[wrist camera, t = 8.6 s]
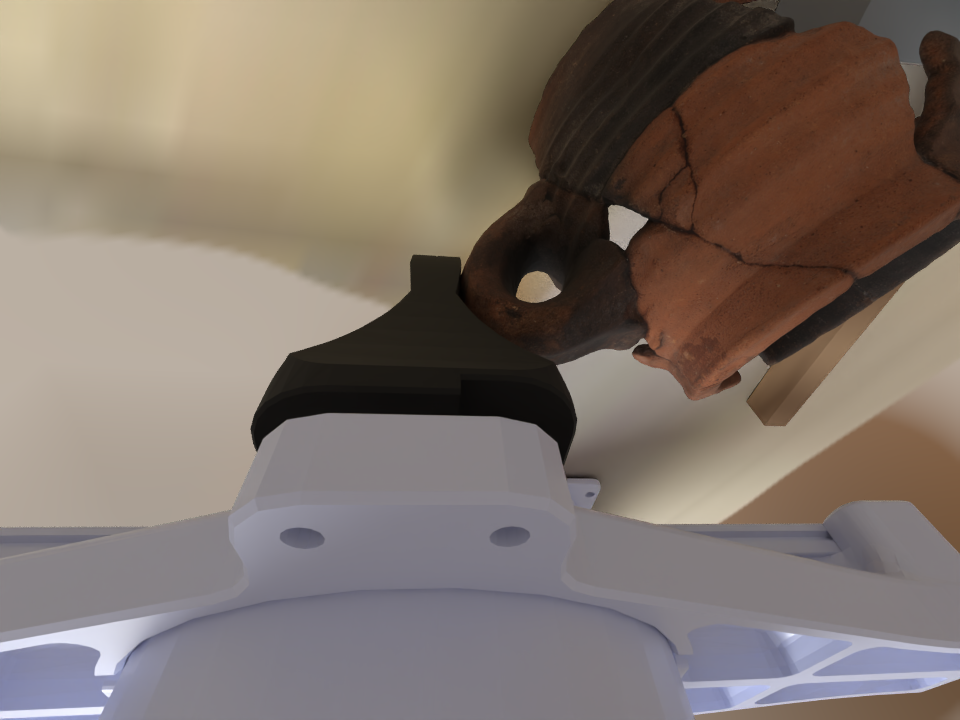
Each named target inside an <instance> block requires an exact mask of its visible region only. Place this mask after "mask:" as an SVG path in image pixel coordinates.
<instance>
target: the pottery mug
mask: <svg viewBox="0 0 960 720" xmlns="http://www.w3.org/2000/svg"><path fill="white" fill-rule="evenodd" d="M752 1H757V0H614V1H613V2H612V3H610V4H609V5H608V6H607V7H606V8H605V9H604V10H603V11H602V12H601V14H600V15H599V16H598V17H596V18H595V19H594V20H593V21H592V22H591V23H590V24H588V25H587V26H586V27H585V29H584V30H583V31H582V32H581V34H580V35H579V37H578V38H577V40H576V41H575V43H574V44H573V45H572V47H571V48H570V49H569V51H568V52H567V53H566V55H565V56H564V57H563V58H562V59H561V61H560V62H559V64H558V65H557V67H556V69H555V71H554V72H553V74H552V75H551V77H550V79H549V81H548V83H547V85H546V87H545V89H544V92H543V95H542V99H541V102H540V103H539V105H538V108H537V111H536V113H535V116H534V120H533V123H532V126H531V129H530V134H529V138H528V141H529V145H530V147H531V149H532V151H533V153H534V154H535V158H536V160H535V162H536V166H537V168H538V169H539V176H540V181H538V182H536V183H534V184H533V185H531V186H530V187H529V188H528V190H527V192H526V194H525V196H524V198H523V199H522V200H521V201H520V202H519V203H518V204H517V205H516V206H515V207H514V208H512V209H511V210H509V211H508V212H507V213H505V214H504V215H503V216H502V217H500V218H499V219H498V220H497V221H496V222H494V223H493V224H492V225H491V226H490V227H489V228H488V229H487V230H486V231H485V232H484V233H483V234H482V236H481V237H480V239H479V240H478V241H477V242H476V244H475V246H474V248H473V250H472V252H471V254H470V256H469V258H468V260H467V262H466V264H465V266H464V269H463V272H462V274H461V277H460V286H459V297H460V299H461V300H462V301H463V303H464V304H465V305H466V306H467V307H468V309H469V310H470V311H471V312H472V313H473V314H474V315H475V316H476V317H477V318H478V319H479V320H481V321H482V322H483V323H484V324H485V325H487V326H488V327H489V328H491V329H492V330H493V331H495V332H496V333H497V334H499V335H501V336H502V337H504V338H505V339H507V340H508V341H510V342H512V343H514V344H516V345H517V346H519V347H521V348H523V349H525V350H527V351H529V352H532V353H534V354H536V355H539V356H541V357H543V358H546V359H548V360H550V361H553V362H554V363H555V364H556V365H559V364H563V363H566V362H570V361H573V360H576V359H578V358H580V357H582V356H585V355H587V354H589V353H592V352H595V351H598V350H601V349H614V350H626V349H629V348H631V347H633V346H634V345H635V344H637V343H638V341H639V340H640V339H642V338H644V339H645V340H646V341H647V342H648V344H641V345H638V346H637V347H636V348H635V349H634V351H633V352H632V355H633V357H634V358H635V359H636V360H638V361H639V362H640V363H643V364H645V365H648V366H650V367H654V368H660V369H665V370H668V371H669V372H670V373H671V374H672V375H673V376H674V377H675V378H676V380H677V381H678V382H679V383H680V384H681V385H682V387H683V389H684V392H685V394H686V395H687V397H688V398H689V399H691V400H699V399H703V398H705V397H708V396H710V395H713V394H717V393H719V392H721V391H723V390H725V389H728V388H731V387H733V386H735V385H737V384H738V383H739V382H740V381H741V375H740V374H739V372H738V371H737V370H739V369H740V368H741V367H742V366H743V365H745V364H746V363H748V362H749V361H750V360H752V359H753V358H755V357H756V356H757V355H759V356H760V357H761V358H762V359H763V361H764V362H765V363H766V364H767V365H770V366H771V365H774V364H777V363H779V362H781V361H782V360H784V359H786V358H788V357H789V356H791V355H793V354H794V353H796V352H798V351H799V350H801V349H802V348H804V347H806V346H808V345H809V344H811V343H813V342H814V341H815V340H816V339H817V338H819V337H820V336H822V335H823V334H825V333H827V332H829V331H831V330H833V329H835V328H836V327H838V326H840V325H841V324H843V323H844V322H846V321H847V320H848V319H850V318H851V317H853V316H854V315H856V314H857V313H859V312H861V311H862V310H864V309H865V308H866V307H868V306H869V305H871V304H872V303H873V302H875V301H876V300H877V299H879V298H880V297H882V296H884V295H885V294H887V293H888V292H890V291H891V290H893V289H894V288H896V287H897V286H898V285H900V284H901V283H903V282H904V281H906V280H908V279H909V278H911V277H912V276H913V275H915V274H916V273H917V272H919V271H920V270H922V269H924V268H925V267H927V266H928V265H929V264H930V263H931V262H933V261H934V260H935V259H937V258H938V257H940V256H942V255H943V254H944V253H946V252H947V251H948V250H949V249H951V248H952V247H954V246H955V245H957V244H958V243H959V242H960V41H959V40H958V39H957V38H956V37H954V36H952V35H950V34H947V33H944V32H942V31H938V30H936V31H930V32H928V33H927V34H926V35H925V36H924V37H923V39H922V41H921V44H920V47H919V55H920V59H921V62H922V64H923V67H924V70H925V72H926V75H927V77H928V82H927V85H926V89H925V103H924V109H923V112H922V114H921V116H919V117H917V118H915V114H914V111H913V109H912V108H911V106H910V104H909V84H908V81H907V77H906V74H905V72H904V70H903V69H902V67H901V65H900V60H899V55H898V50H897V47H896V45H895V43H894V42H893V41H892V40H891V39H889V38H886V37H880V36H877V35H874V34H873V33H871V32H870V31H868V30H867V29H865V28H864V27H861V26H857V25H856V24H854V23H851V22H847V21H842V22H837V23H832V24H828V25H825V26H822V27H818V28H813V29H810V30H808V31H805V32H801V33H796V32H795V30H794V27H795V24H794V20H793V19H792V18H790V17H784V16H780V15H778V14H777V13H775V12H773V11H771V10H769V9H765V8H762V7H758V8H754V9H750V8H747V7H745V6H743V5H741V4H745V3H749V2H752ZM610 205H620V206H623V207H625V208H627V209H630V210H633V211H634V212H636V213H639V214H640V215H642V216H643V217H646V218H649V219H648V221H647V222H646V224H645V225H644V226H643V227H642V228H641V229H640V230H639V231H638V232H637V233H636V234H635V235H634V236H633V237H632V239H631V240H630V242H629V245H628V247H627V249H626V250H623V249H622V248H621V247H620V246H618V245H617V244H616V243H614V242H612V241H609V240H610V232H609V221H608V214H609V213H608V207H609V206H610ZM534 271H541V272H545V273H547V274H548V275H549V277H550V278H551V279H552V281H553V282H554V285H555V286H556V287H557V288H558V289H559V290H561V293H560V294H559V295H557V296H556V297H554V298H552V299H549V300H547V301H544V302H539V303H529V302H525V301H521V300H519V299H517V298H516V293H517V289H518V286H519V283H520V282H521V279H522V278H523V276H525V275H526V274H527V273H531V272H534Z"/></svg>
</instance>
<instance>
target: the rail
mask: <svg viewBox="0 0 960 720" xmlns="http://www.w3.org/2000/svg"><path fill="white" fill-rule="evenodd" d="M904 282H905V281H904ZM904 282H903V283H904ZM903 283H901V284H900V285H898V286H897V287H896V288H894V289H893V290H891V291H890V292H888V293H887V294H885V295H884V296H882V297H880V298H879V299H877V300H876V301H875V302H873V303H872V304H871V305H869V306H868V307H866V308H865V309H864V310H862V311H861V312H859V313H857V314H856V315H854V316H853V317H851V318H850V319H848V320H847V321H846V322H844V323H843V324H841V325H840V326H838V327H836V328H835V329H833V330H831V331H829V332H827V333H825V334H823V335H822V336H820V337H819V338H817V339H816V340H815V341H814V342H813V343H811V344H809V345H808V346H806V347H804V348H802V349H801V350H799V351H798V352H796V353H794V354H793V355H791V356H789V357H788V358H786V359H784V360H782V361H781V362H779V363H777V364H774V365H772V366H771V367H770V369H769V370H768V372H767V373H766V375H765V376H764V377H763V379H762V380H761V382H760V383H759V385H758V386H757V387H756V389H755V390H754V392H753V393H752V394H751V396H750V397H749V399H748V400H747V403H748V404H749V406H750V407H751V408H752V410H753V411H754V412H755V414H756V415H757V416H758V418H759V419H760V420H761V421H762V423H763V424H764V425H765V426H786V424H787V423H788V422H789V421H790V420H791V418H792V417H793V416H794V415H795V414H796V412H797V411H798V410H799V409H800V408H801V406H802V405H803V404H804V403H805V402H806V400H807V399H808V398H809V397H810V396H811V394H812V393H813V392H814V391H815V390H816V388H817V387H818V386H819V385H820V383H821V382H822V381H823V380H824V379H825V377H826V376H827V375H828V374H829V373H830V371H831V370H832V369H833V368H834V367H835V365H836V364H837V363H838V362H839V361H840V359H841V358H842V357H843V356H844V355H845V353H846V352H847V351H848V350H849V349H850V347H851V346H852V345H853V344H854V342H855V341H856V340H857V339H858V338H859V336H860V335H861V334H862V333H863V332H864V330H865V329H866V328H867V327H868V326H869V324H870V323H871V322H872V321H873V320H874V318H875V317H876V316H877V315H878V314H879V312H880V311H881V310H882V309H883V307H884V306H885V305H886V304H887V303H888V301H889V300H890V299H891V298H892V297H893V295H894V294H895V293H896V292H897V291H898V289H899V288H900V287H901V286H902V285H903Z"/></svg>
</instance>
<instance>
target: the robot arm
mask: <svg viewBox="0 0 960 720" xmlns="http://www.w3.org/2000/svg"><path fill="white" fill-rule="evenodd" d="M410 273H411V291H410V292H409V293H408V294H407V295H406V296H405V297H404V298H403V299H402V300H401V301H400V302H399V303H398V304H397V305H396V306H394V307H393V308H392V309H391V310H389V311H388V312H387V313H385V314H384V315H382V316H380V317H379V318H377V319H375V320H374V321H372V322H370V323H369V324H367V325H365V326H363V327H361V328H359V329H357V330H355V331H353V332H351V333H349V334H347V335H344V336H342V337H339V338H337V339H335V340H332V341H329V342H326V343H323V344H320V345H317V346H313V347H310V348H307V349H304V350H300V351H297V352H293V353H290V354H289V355H288V357H287V358H286V360H285V361H284V363H283V364H282V365H281V367H280V368H279V370H278V371H277V373H276V374H275V376H274V378H273V379H272V381H271V383H270V385H269V386H268V388H267V390H266V392H265V394H264V396H263V398H262V400H261V402H260V404H259V406H258V408H257V411H256V412H255V414H254V418H253V421H252V425H251V434H252V440H253V444H254V447H255V449H256V451H257V454H256V456H255V458H254V460H253V463H252V465H251V467H250V469H249V472H248V474H247V476H246V478H245V481H244V483H243V485H242V487H241V490H240V492H239V494H238V496H237V498H236V501H235V503H234V505H233V507H232V510H228V511H223V512H219V513H214V514H209V515H204V516H200V517H195V518H190V519H185V520H181V521H176V522H171V523H166V524H162V525H157V526H152V527H0V720H695V717H694V715H696V714H704V713H713V712H721V711H729V710H737V709H746V708H754V707H762V706H770V705H779V704H787V703H796V702H805V701H814V700H824V699H834V698H845V697H856V696H868V695H883V694H899V693H916V692H923V691H926V690H928V689H931V688H934V687H937V686H940V685H943V684H945V683H948V682H951V681H954V680H957V679H960V554H959V553H958V552H957V551H956V550H955V549H954V547H953V546H952V545H951V544H950V543H949V542H948V541H947V540H946V539H945V538H944V537H943V536H942V535H941V534H940V533H939V532H938V531H937V530H936V529H935V527H934V526H933V525H932V524H931V523H930V522H929V521H928V520H927V519H926V518H925V517H924V516H923V515H922V514H921V513H920V512H919V511H918V510H917V508H916V507H915V506H914V505H913V504H912V503H911V502H907V501H855V502H850V503H847V504H845V505H842V506H840V507H839V508H837V509H836V510H834V511H833V512H832V513H831V514H830V515H829V516H828V517H827V518H826V519H825V521H824V523H823V524H653V523H648V522H644V521H639V520H635V519H630V518H626V517H622V516H617V515H613V514H608V513H604V512H599V511H595V510H591V508H592V506H593V504H594V502H595V500H596V498H597V496H598V494H599V492H600V489H601V485H600V482H599V481H598V480H596V479H579V478H566V474H565V470H564V463H565V461H566V458H567V455H568V452H569V449H570V446H571V443H572V441H573V438H574V435H575V431H576V424H577V417H576V413H575V409H574V405H573V401H572V398H571V396H570V393H569V391H568V388H567V386H566V384H565V382H564V380H563V378H562V376H561V374H560V372H559V370H558V368H557V366H556V364H555V363H554V362H553V361H550V360H548V359H546V358H543V357H541V356H539V355H536V354H534V353H532V352H529V351H527V350H525V349H523V348H521V347H519V346H517V345H516V344H514V343H512V342H510V341H508V340H507V339H505V338H504V337H502V336H501V335H499V334H497V333H496V332H495V331H493V330H492V329H491V328H489V327H488V326H487V325H485V324H484V323H483V322H482V321H481V320H479V319H478V318H477V317H476V316H475V315H474V314H473V313H472V312H471V311H470V310H469V309H468V307H467V306H466V305H465V304H464V303H463V301H462V300H461V299H460V297H459V286H460V277H461V259H460V257H445V256H438V257H436V256H428V255H413V256H412V259H411V262H410Z"/></svg>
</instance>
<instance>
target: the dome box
mask: <svg viewBox="0 0 960 720" xmlns="http://www.w3.org/2000/svg"><path fill="white" fill-rule="evenodd" d="M775 13H777V14H778V15H780V16H784V17H790V18H792V19H793V20H794V24H795V27H794V30H795V32H796V33H801V32H805V31H808V30H810V29H813V28H818V27H822V26H825V25H828V24H832V23H837V22H842V21H847V22H851V23H854V24H856V25H857V26H861V27H864V28H865V29H867V30H868V31H870V32H871V33H873V34H874V35H877V36H880V37H886V38H889V39H891V40H892V41H893V42H894V43H895V45H896V47H897V50H898V55H899V60H900V63H904V64H912V65H921V66H923V64H922V62H921V59H920V55H919V47H920V44H921V41H922V39H923V37H924V36H925V35H926V34H927V33H928V32H930V31H936V30H938V31H942V32H944V33H947V34H950V35H952V36H954V37H956V38H957V39H958V40H959V41H960V0H780V1H779V4H778V6H777V8H776V11H775Z"/></svg>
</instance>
